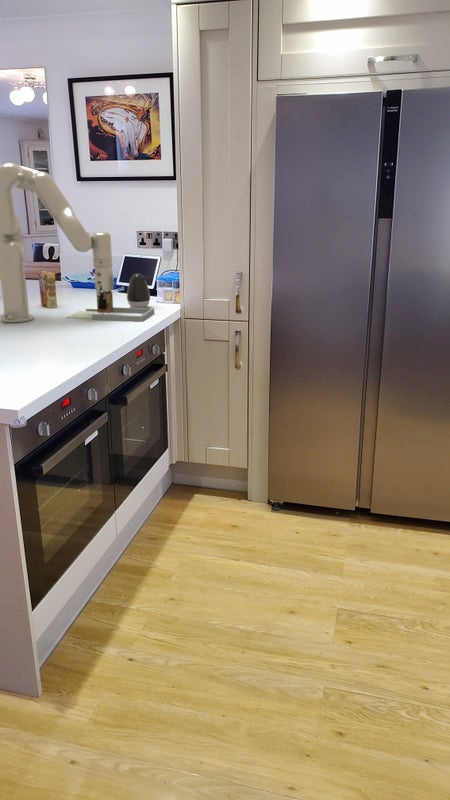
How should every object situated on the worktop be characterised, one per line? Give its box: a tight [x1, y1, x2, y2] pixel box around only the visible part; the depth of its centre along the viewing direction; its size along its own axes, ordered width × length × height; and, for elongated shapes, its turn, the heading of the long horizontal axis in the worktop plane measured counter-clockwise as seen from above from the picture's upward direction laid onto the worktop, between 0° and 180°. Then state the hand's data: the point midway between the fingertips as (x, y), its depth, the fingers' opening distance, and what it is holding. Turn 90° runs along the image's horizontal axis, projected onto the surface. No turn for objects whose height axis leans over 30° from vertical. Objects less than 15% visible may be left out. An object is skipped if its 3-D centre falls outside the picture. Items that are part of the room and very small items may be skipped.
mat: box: [65, 310, 105, 320], centre depth 263 cm, size 14×12×1 cm
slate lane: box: [91, 306, 155, 322], centre depth 260 cm, size 17×21×2 cm
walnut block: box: [85, 291, 114, 314], centre depth 260 cm, size 5×11×8 cm, turn 80°
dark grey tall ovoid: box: [126, 272, 151, 308], centre depth 277 cm, size 10×10×15 cm
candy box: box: [38, 270, 58, 309], centre depth 280 cm, size 9×4×15 cm, turn 39°
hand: (105, 307), depth 261 cm, fingers closed on walnut block, 5 cm apart
